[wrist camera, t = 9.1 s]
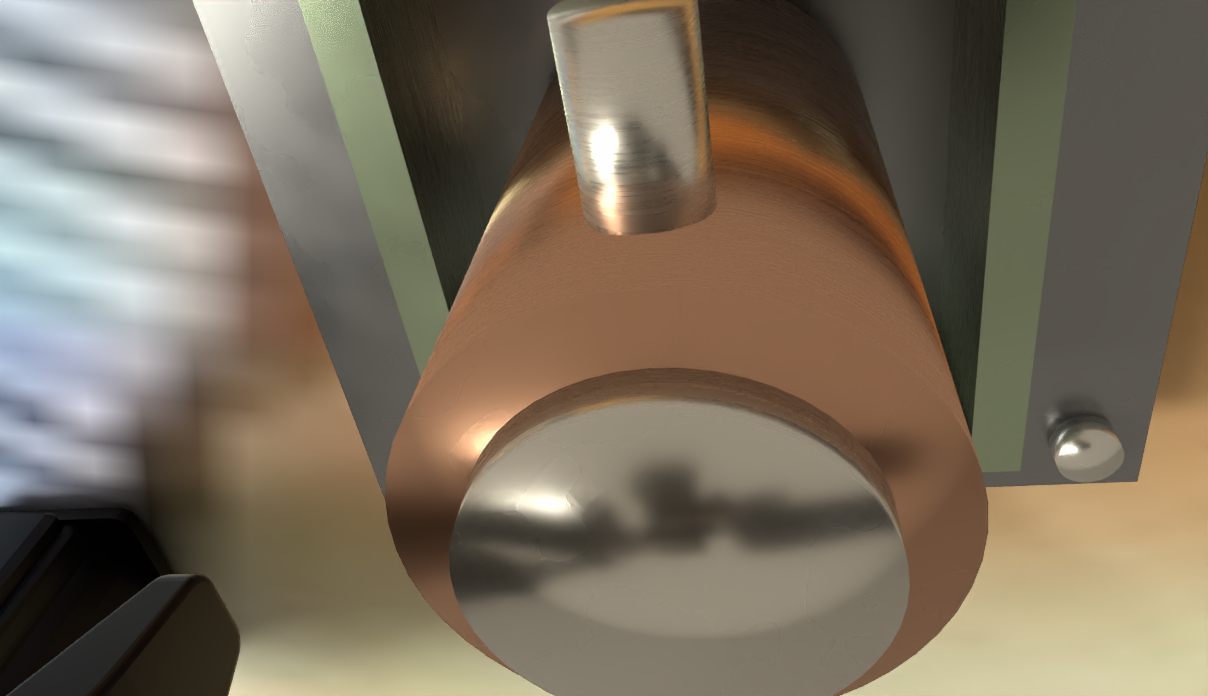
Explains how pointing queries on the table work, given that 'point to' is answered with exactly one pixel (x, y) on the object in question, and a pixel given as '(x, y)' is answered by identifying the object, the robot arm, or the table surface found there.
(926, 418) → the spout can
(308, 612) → the table surface
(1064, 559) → the table surface
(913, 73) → the gearbox housing
